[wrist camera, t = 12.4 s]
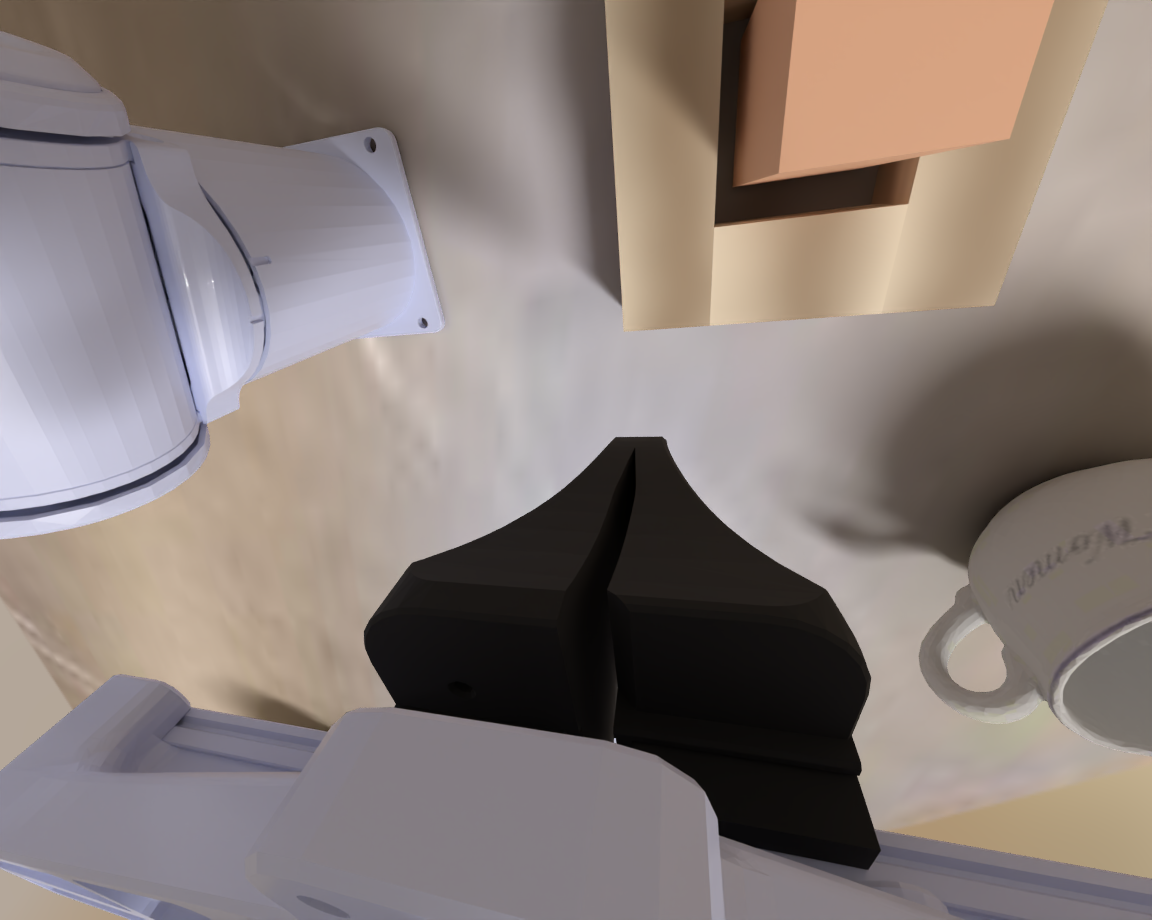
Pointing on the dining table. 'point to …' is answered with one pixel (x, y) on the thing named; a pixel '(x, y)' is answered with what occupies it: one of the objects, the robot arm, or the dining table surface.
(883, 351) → the dining table surface
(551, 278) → the dining table surface
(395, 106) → the dining table surface
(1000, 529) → the teacup
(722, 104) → the birch socket block
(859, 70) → the terracotta peg
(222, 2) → the dining table surface
